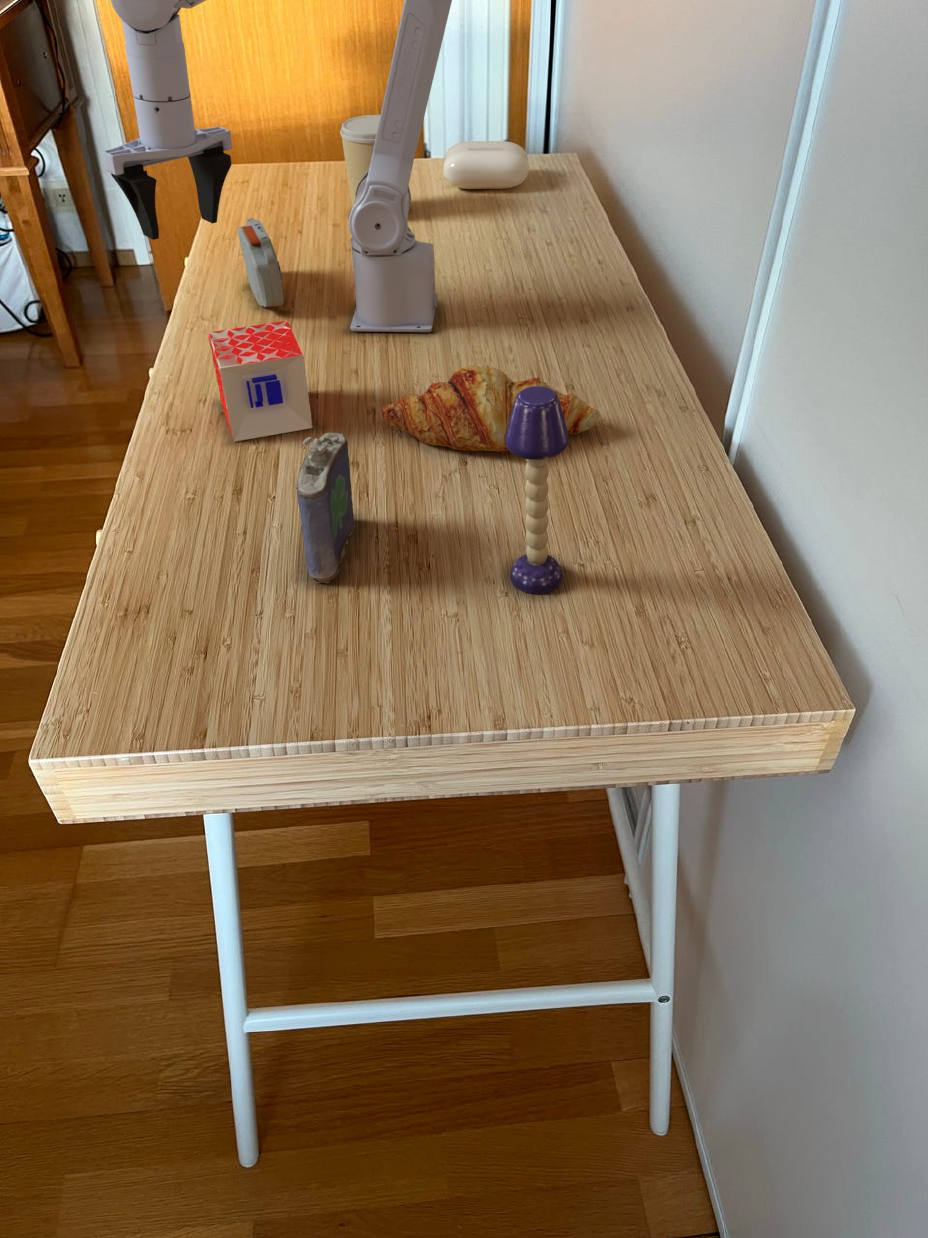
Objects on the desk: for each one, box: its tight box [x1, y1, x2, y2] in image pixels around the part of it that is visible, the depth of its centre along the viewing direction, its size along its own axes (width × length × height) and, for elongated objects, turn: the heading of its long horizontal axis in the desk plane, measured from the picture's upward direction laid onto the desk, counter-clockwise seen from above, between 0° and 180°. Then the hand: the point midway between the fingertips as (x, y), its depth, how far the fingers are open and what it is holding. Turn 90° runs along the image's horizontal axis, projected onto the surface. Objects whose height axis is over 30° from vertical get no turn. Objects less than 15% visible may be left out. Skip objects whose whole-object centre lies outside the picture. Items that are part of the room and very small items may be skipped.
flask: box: [295, 432, 356, 584], centre depth 80 cm, size 9×3×11 cm, turn 172°
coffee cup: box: [339, 114, 381, 209], centre depth 140 cm, size 9×9×12 cm
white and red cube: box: [207, 320, 314, 443], centre depth 98 cm, size 8×8×8 cm
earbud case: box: [442, 140, 530, 190], centre depth 151 cm, size 10×13×5 cm
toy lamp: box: [505, 386, 570, 595], centre depth 75 cm, size 5×5×17 cm
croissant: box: [381, 365, 601, 452], centre depth 96 cm, size 21×10×8 cm, turn 92°
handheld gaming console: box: [237, 217, 285, 308], centre depth 120 cm, size 14×3×8 cm, turn 20°
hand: (180, 228), depth 110 cm, fingers open, 7 cm apart
